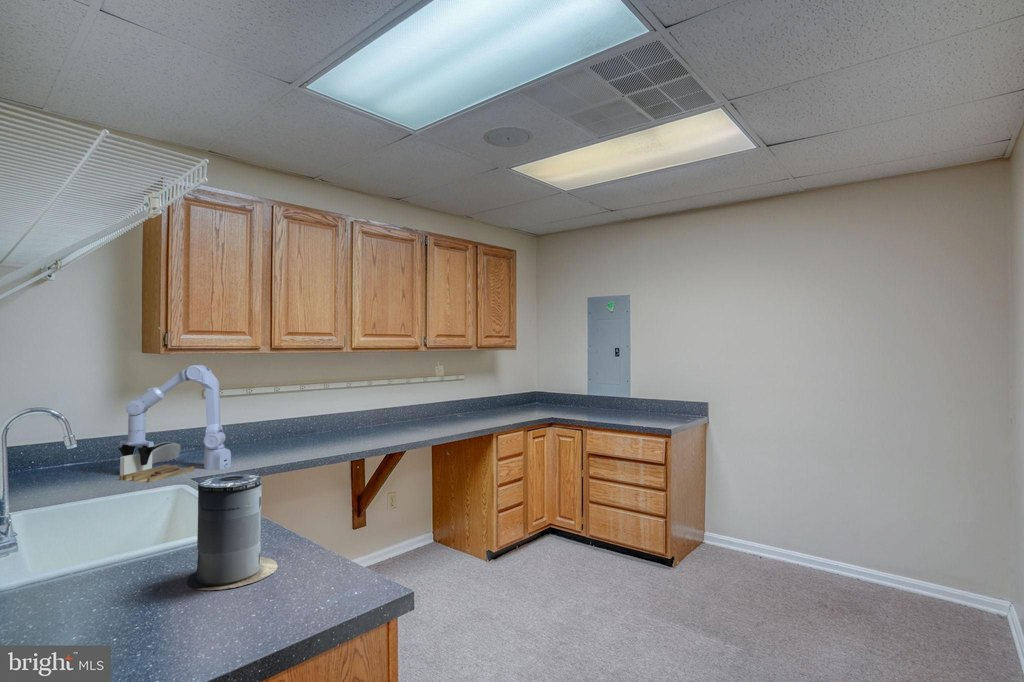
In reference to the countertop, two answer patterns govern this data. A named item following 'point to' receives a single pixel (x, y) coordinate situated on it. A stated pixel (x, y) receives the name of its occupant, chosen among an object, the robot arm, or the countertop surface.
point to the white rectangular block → (133, 464)
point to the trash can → (229, 534)
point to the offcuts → (164, 471)
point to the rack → (146, 474)
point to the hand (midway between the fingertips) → (136, 464)
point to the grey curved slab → (165, 452)
